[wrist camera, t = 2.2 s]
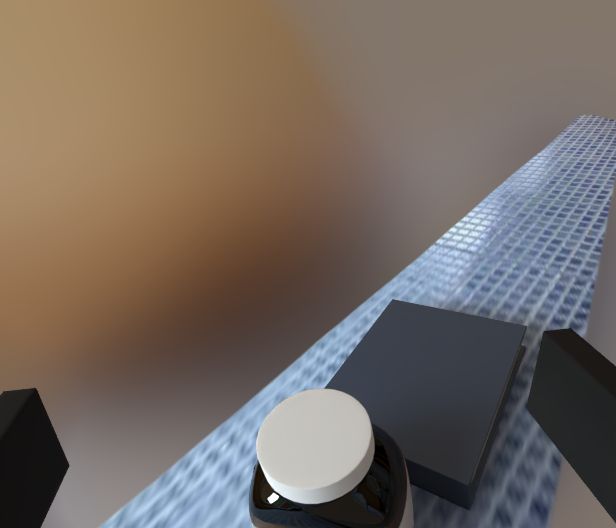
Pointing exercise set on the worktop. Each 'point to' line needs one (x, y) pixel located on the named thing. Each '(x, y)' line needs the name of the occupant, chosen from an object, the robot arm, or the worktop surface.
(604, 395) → the robot arm
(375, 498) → the spread jar
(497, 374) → the book
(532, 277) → the worktop surface
